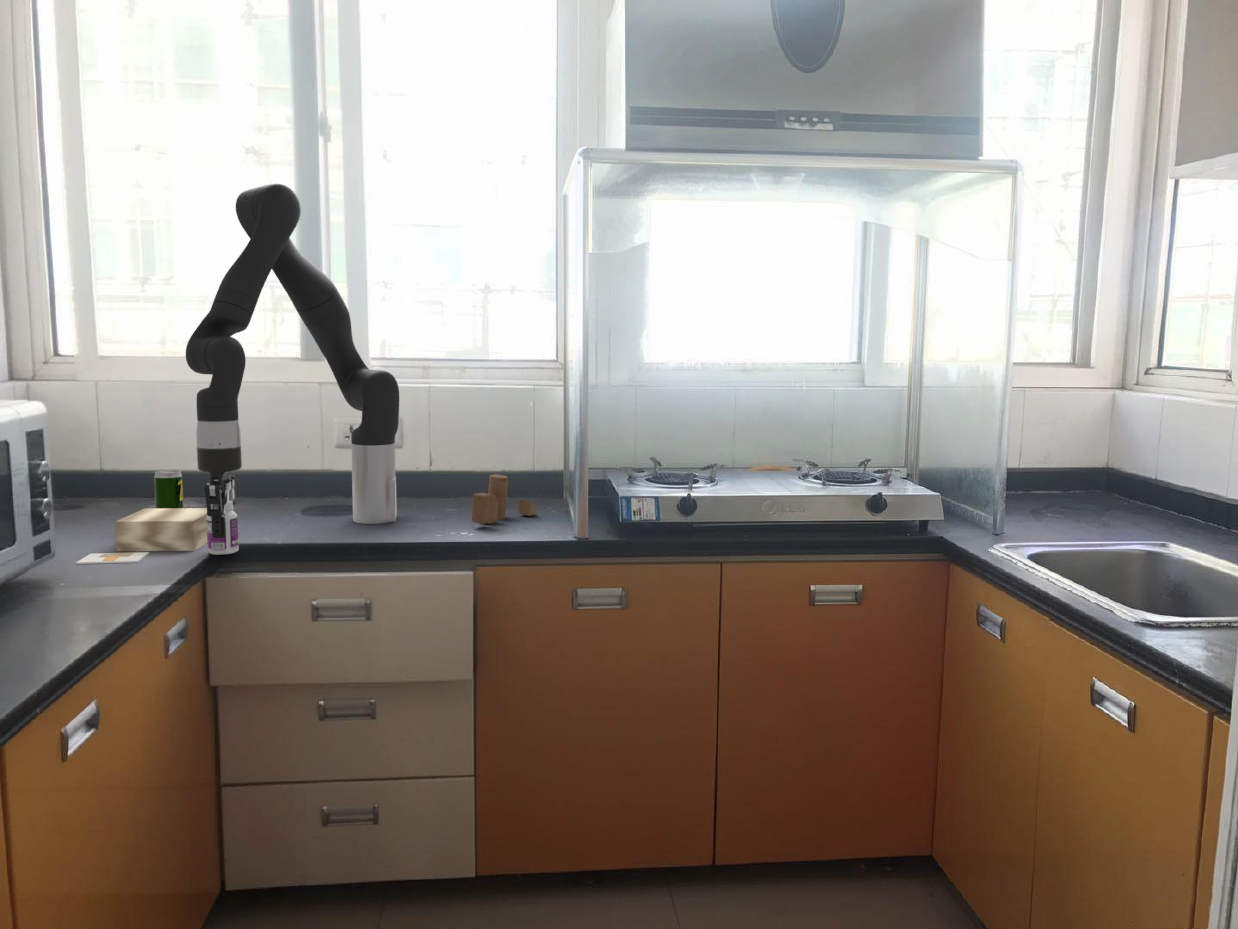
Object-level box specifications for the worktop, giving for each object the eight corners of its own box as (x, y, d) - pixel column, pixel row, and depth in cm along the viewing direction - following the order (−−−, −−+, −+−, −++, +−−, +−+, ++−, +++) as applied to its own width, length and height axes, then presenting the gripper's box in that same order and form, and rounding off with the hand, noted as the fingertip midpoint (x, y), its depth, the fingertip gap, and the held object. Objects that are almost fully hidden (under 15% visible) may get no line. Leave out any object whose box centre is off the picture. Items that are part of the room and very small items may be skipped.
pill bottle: (230, 547, 176) (228, 498, 175) (244, 551, 173) (242, 501, 172) (202, 552, 172) (200, 501, 171) (216, 556, 169) (214, 505, 168)
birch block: (218, 537, 188) (217, 508, 187) (194, 552, 174) (193, 521, 173) (146, 537, 186) (144, 508, 185) (116, 553, 172) (115, 521, 172)
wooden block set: (488, 533, 194) (492, 485, 193) (456, 525, 198) (459, 479, 197) (536, 521, 210) (540, 477, 209) (505, 515, 214) (509, 471, 213)
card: (149, 553, 171) (149, 551, 171) (137, 562, 164) (137, 560, 164) (90, 555, 169) (90, 553, 169) (76, 564, 162) (76, 561, 162)
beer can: (158, 531, 191) (155, 473, 190) (154, 526, 196) (152, 470, 194) (186, 528, 194) (183, 472, 193) (182, 524, 199) (180, 469, 197)
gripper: (232, 448, 164) (235, 541, 166) (248, 440, 178) (251, 526, 180) (187, 449, 162) (191, 543, 165) (206, 440, 176) (210, 527, 179)
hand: (222, 533), depth 172 cm, fingers closed on pill bottle, 5 cm apart
